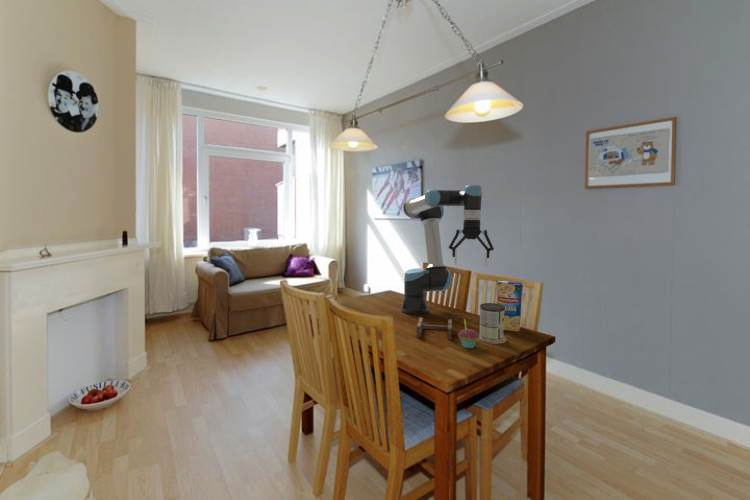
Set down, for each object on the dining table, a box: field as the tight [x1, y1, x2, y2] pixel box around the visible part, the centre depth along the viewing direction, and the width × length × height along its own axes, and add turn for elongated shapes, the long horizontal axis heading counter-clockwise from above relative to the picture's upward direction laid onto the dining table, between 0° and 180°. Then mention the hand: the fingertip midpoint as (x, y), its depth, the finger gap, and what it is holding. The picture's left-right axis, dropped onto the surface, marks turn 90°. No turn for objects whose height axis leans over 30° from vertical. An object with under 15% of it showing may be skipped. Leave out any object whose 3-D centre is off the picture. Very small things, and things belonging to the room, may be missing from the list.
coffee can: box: [479, 302, 505, 341], centre depth 158 cm, size 10×10×14 cm
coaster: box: [478, 333, 507, 345], centre depth 159 cm, size 12×12×1 cm
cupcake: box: [457, 317, 480, 349], centre depth 150 cm, size 9×8×12 cm
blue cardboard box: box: [496, 280, 523, 332], centre depth 173 cm, size 7×11×22 cm, turn 69°
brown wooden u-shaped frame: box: [416, 316, 453, 341], centre depth 166 cm, size 14×15×5 cm
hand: (470, 264), depth 170 cm, fingers open, 13 cm apart
